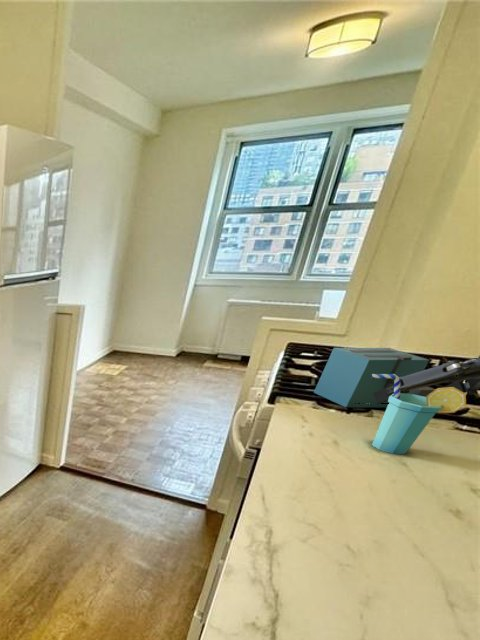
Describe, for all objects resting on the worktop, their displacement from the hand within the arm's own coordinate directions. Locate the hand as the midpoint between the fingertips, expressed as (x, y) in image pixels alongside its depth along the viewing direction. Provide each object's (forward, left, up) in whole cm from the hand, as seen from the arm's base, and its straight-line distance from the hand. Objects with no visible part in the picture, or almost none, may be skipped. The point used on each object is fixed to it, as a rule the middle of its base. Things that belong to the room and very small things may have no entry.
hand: (403, 398), depth 111 cm
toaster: (+5, -9, -4) cm, 11 cm away
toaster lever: (0, 0, +2) cm, 2 cm away
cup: (+7, +22, -5) cm, 24 cm away
